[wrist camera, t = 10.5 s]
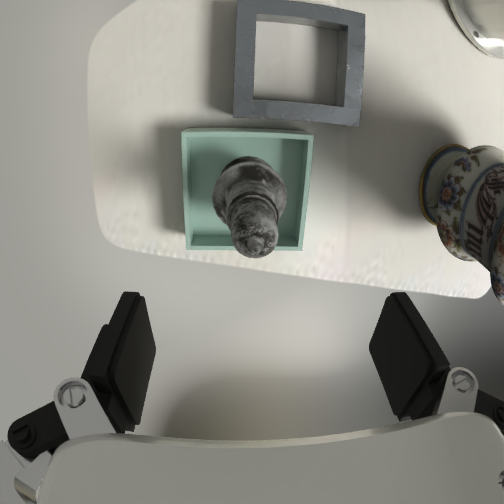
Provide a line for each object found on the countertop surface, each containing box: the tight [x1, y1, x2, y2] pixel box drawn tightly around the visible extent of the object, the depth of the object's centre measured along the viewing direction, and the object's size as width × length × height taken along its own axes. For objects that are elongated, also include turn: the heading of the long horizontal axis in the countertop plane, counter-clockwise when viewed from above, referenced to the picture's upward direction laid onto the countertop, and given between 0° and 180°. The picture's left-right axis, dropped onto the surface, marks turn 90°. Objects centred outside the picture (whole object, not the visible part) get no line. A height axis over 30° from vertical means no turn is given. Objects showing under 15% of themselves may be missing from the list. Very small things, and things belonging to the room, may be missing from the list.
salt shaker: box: [212, 156, 287, 258], centre depth 22 cm, size 6×6×12 cm
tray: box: [181, 128, 314, 251], centre depth 26 cm, size 10×10×3 cm
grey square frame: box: [233, 0, 365, 127], centre depth 21 cm, size 10×10×2 cm
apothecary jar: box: [419, 144, 504, 305], centre depth 21 cm, size 12×12×18 cm
